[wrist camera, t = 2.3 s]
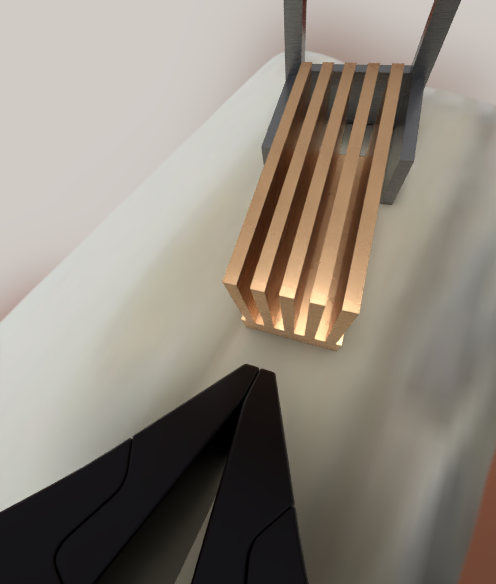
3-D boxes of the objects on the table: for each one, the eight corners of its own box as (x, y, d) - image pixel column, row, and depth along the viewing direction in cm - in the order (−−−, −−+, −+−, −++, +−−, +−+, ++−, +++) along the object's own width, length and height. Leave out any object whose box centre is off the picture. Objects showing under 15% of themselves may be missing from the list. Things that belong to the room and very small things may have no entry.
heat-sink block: (336, 351, 17) (367, 315, 10) (246, 327, 19) (215, 280, 11) (370, 178, 22) (410, 63, 14) (295, 169, 23) (296, 62, 16)
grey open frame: (394, 204, 20) (485, 32, 11) (264, 187, 23) (243, 34, 13) (408, 119, 23) (489, -80, 13) (290, 112, 25) (288, -60, 16)
